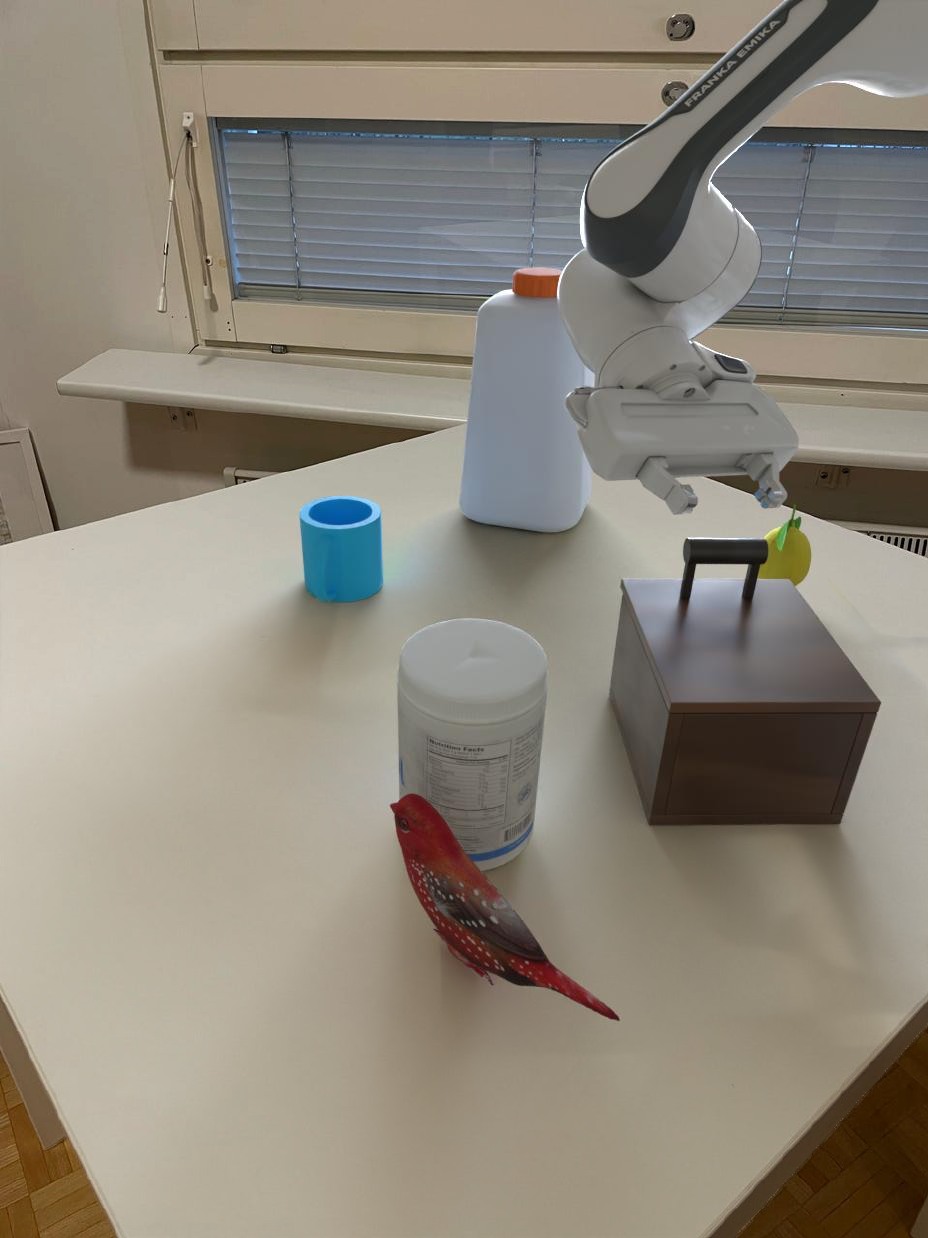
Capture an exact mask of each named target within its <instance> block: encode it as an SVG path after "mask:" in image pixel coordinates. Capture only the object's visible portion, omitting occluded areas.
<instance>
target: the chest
mask: <svg viewBox="0 0 928 1238" xmlns="http://www.w3.org/2000/svg"><path fill="white" fill-rule="evenodd" d="M620 601H621V602H620V610H619V616H618V622H617V623H618V624H617V632H616V638H615V646H614V652H613V653H614V654H613V661H612V667H611V668H612V669H611V676H610V682H609V684H610V685H609V690H608V691H609V692H608V694H609V698H610V701H611V704H612V708H613V711H614V715H615V719H616V721H617V724H618V728H619V731H620V735H621V737H622V742H623V744H624V748H625V750H626V754H627V757H628V761H629V764H630V767H631V770H632V774H633V777H634V780H635V784H636V787H637V790H638V793H639V797H640V801H641V804H642V808H643V810H644V813H645V817H646V820H647V823H648V825H649V826H728V825H729V826H730V825H731V826H736V825H737V826H739V825H743V826H745V825H746V826H747V825H748V826H749V825H751V826H753V825H839V824H841V823H842V820H843V817H844V813H845V812H846V809H847V805H848V802H849V800H850V796H851V793H852V791H853V787H854V785H855V782H856V779H857V775H858V773H859V769H860V767H861V764H862V761H863V758H864V755H865V752H866V749H867V745H868V743H869V740H870V738H871V734H872V731H873V728H874V725H875V722H876V720H877V716H878V712H824V713H669V711H668V708H667V705H666V703H665V700H664V698H663V695H662V693H661V690H660V687H659V685H658V682H657V680H656V677H655V675H654V672H653V670H652V667H651V664H650V662H649V659H648V657H647V654H646V652H645V649H644V647H643V644H642V641H641V639H640V636H639V634H638V631H637V629H636V626H635V623H634V621H633V618H632V616H631V613H630V611H629V608H628V606H627V603H626V600H625V598H624V595H623V593H622V594H621V600H620Z"/></svg>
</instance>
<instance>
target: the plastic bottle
mask: <svg viewBox="0 0 928 1238" xmlns="http://www.w3.org/2000/svg"><path fill="white" fill-rule="evenodd" d="M563 271H564V270H561V269H558V268H550V267H538V266H537V267H534V266H533V267H523V268H522V267H521V268H518V269H516V270H515V271H514V272H513V273H512V287H511V289H505V290H501V291H499V292H498V293H496V294H494V295H492V296H491V297H490V298H489V299H487V300H486V301H484V303H482V304H481V306H480V307H479V309H478V310H477V315H476V324H475V335H474V344H473V345H474V346H473V355H472V364H471V377H470V385H469V397H468V407H467V415H466V416H467V417H466V426H465V427H466V428H465V438H464V449H463V450H464V451H463V459H462V469H461V478H460V480H461V481H460V490H459V500H458V501H459V502H458V504H459V508H460V511H461V512H462V514H463V515H464V516H465V517H466V518H468V519H469V520H471V521H474V522H477V523H479V524H484V525H492V526H497V527H498V526H499V527H504V528H512V529H518V530H525V531H532V532H539V533H540V532H541V533H559V532H564V531H567V530H570V529H572V528H574V527H575V526H576V525H577V524H578V523H579V522H580V520H581V518H582V516H583V514H584V512H585V509H586V507H587V505H588V503H589V500H590V497H591V495H592V494H591V493H592V472H593V470H592V469H591V467H590V465H589V463H588V460H587V458H586V456H585V453H584V451H583V448H582V445H581V443H580V440H579V437H578V433H577V428H576V422H575V421H574V420H573V418H572V416H571V415H570V413H569V411H568V409H567V407H566V404H565V402H566V396H567V395H568V394H569V393H570V392H572V391H574V389H575V388H576V387H579V386H590V387H595V380H596V376H595V374H594V373H593V372H592V371H591V370H589V369H588V368H587V367H586V366H585V365H584V364H583V362H582V361H581V359H580V357H579V355H578V354H577V352H576V350H575V348H574V346H573V344H572V342H571V340H570V338H569V336H568V334H567V332H566V330H565V327H564V325H563V322H562V320H561V317H560V313H559V309H558V300H557V292H558V285H559V280H560V277H561V275H562V273H563Z"/></svg>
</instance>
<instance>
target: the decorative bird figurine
mask: <svg viewBox="0 0 928 1238" xmlns="http://www.w3.org/2000/svg"><path fill="white" fill-rule="evenodd" d="M389 808H390V809H391V811H392V813H393V816H394V818H393V819H394V825H395V832H396V837H397V839H398V841H397V842H398V844H399V848H400V850H401V854H402V857H403V861H404V866H405V869H406V872H407V877H408V879H409V881H410V885H411V887H412V889H413V891H414V893H415V895H416V897H417V900H418V901H419V903H420V905H421V907H422V908H423V910H424V912H425V913H426V915H427V916H428V918H429V920H430V921H431V922H432V924H433V925H434V926H435V928H432V930H433V931H434V932H435V933H436V934H437V935H438V936H439V937H440V939H441V940H442V941H443V942H445V944H446V946H447V948H448V950H449V952H450V953H451V954H452V955H453V956H454V957H455V958H457V960H459V961H461V962H462V963H463V964H464V965H465V966H466V967H468V968H469V969H472V970H474V971H475V972H476V974H477V975H478V976H480V978H484V977H485V979H486V980H487V981H488V983H490V985H491V986H495V984H494V983H493V980H492V979H491V977H490V975H489V974H488V973H490V974H492V975H494V976H496V977H499V978H501V979H503V980H505V981H507V982H508V983H511V984H513V985H515V986H518V987H536V988H544V989H547V990H550V991H553V992H556V993H558V994H560V995H562V996H564V997H565V998H568V999H570V1000H571V1001H574V1002H575V1003H578V1004H579V1005H581V1006H583V1007H584V1008H587V1009H588V1010H591V1011H592V1012H594V1013H597V1014H598V1015H600V1016H603V1017H604V1018H607V1019H609V1020H614V1021H617V1022H621V1020H620V1016H619V1015H618V1014H617V1013H616V1012H615V1011H614V1010H613V1009H612V1008H611V1007H609V1006H608V1005H606V1003H604V1001H602V1000H600V999H599V998H598V997H597V996H595V995H593V994H592V993H591V992H590V991H589V990H587V989H585V988H584V987H583V986H581V985H580V984H578V983H577V982H576V981H575V980H573V979H572V978H571V977H570V976H568V975H567V974H565V973H564V972H563V971H561V970H560V969H559V968H558V967H557V966H556V965H554V964H553V963H552V962H551V961H550V960H549V958H548V956H547V954H546V953H545V952H544V949H543V948H542V946H541V944H540V943H539V942H538V940H537V938H536V936H534V934H533V932H532V931H531V930H530V929H529V928H528V926H527V925H526V923H525V921H524V920H523V919H522V918H521V916H520V915H519V914H518V913H517V911H516V910H515V908H514V907H513V906H512V905H511V903H510V902H509V901H508V899H506V898H505V896H504V895H503V894H502V893H501V892H500V891H499V889H498V888H497V887H496V886H495V885H494V884H493V883H492V882H491V880H490V879H489V878H488V877H487V876H486V875H485V874H484V872H483V871H481V870H480V869H479V868H478V867H477V866H476V865H475V863H474V862H473V861H472V860H471V859H470V857H469V856H468V855H467V854H466V853H465V851H464V850H463V849H462V847H461V846H460V844H459V843H458V841H457V840H456V838H455V836H454V834H453V833H452V831H451V829H450V828H449V826H448V824H447V823H446V821H445V820H444V819H443V817H442V816H441V815H440V814H439V813H438V811H437V810H436V809H435V808H434V807H433V806H432V805H431V804H430V803H429V802H428V801H427V800H426V799H425V798H423V797H422V796H420V795H417V794H413V793H411V794H407V795H405V796H403V797H402V798H401V799H400V800H399V799H398V801H396V802H392V803H390V804H389Z"/></svg>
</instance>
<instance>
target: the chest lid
mask: <svg viewBox="0 0 928 1238" xmlns="http://www.w3.org/2000/svg"><path fill="white" fill-rule="evenodd" d="M768 552H769V549H768V543H767V540H766V539H764V537H763V538H760V537H759V538H758V537H757V538H755V537H752V538H751V537H749V538H748V537H741V538H739V537H687V538H685V539H684V542H683V545H682V557H683V562H684V568H683V573H682V578H621V579H620V586H619V587H620V591H621V593H622V594H623V595H624V598H625V600H626V603H627V606H628V608H629V611H630V613H631V616H632V618H633V621H634V623H635V626H636V629H637V631H638V634H639V636H640V639H641V641H642V644H643V647H644V649H645V652H646V654H647V657H648V659H649V662H650V664H651V667H652V670H653V672H654V675H655V677H656V680H657V682H658V685H659V687H660V690H661V693H662V695H663V698H664V700H665V703H666V705H667V708H668V711H669V713H824V712H877V713H879V711H880V708H881V704H882V701H881V700H880V699H879V697H878V696H877V694H876V693H875V692H874V690H873V689H872V688H871V687H870V685H869V684H868V682H867V681H866V680H865V679H864V677H863V676H862V674H861V673H860V671H858V669H857V668H856V666H855V665H854V663H853V662H852V661H851V660H850V658H849V657H848V655H847V654H846V653H845V651H844V650H843V649H842V648H841V646H840V645H839V644H838V642H837V641H836V639H834V637H833V636H832V634H831V633H830V632H829V630H828V629H827V628H826V626H825V625H824V624H823V622H822V621H821V619H820V618H819V617H818V615H817V614H816V613H815V612H814V610H813V609H812V607H811V605H810V604H808V602H807V600H806V599H805V598H804V596H803V595H802V594H801V592H800V591H799V590H798V588H797V586H794V585H793V583H792V582H791V581H790V579H757V578H758V574H759V569H760V565H761V564H765V563H766V561H767V559H768ZM697 565H747V569H746V574H745V578H695V575H696V570H697V569H696V568H697Z"/></svg>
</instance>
